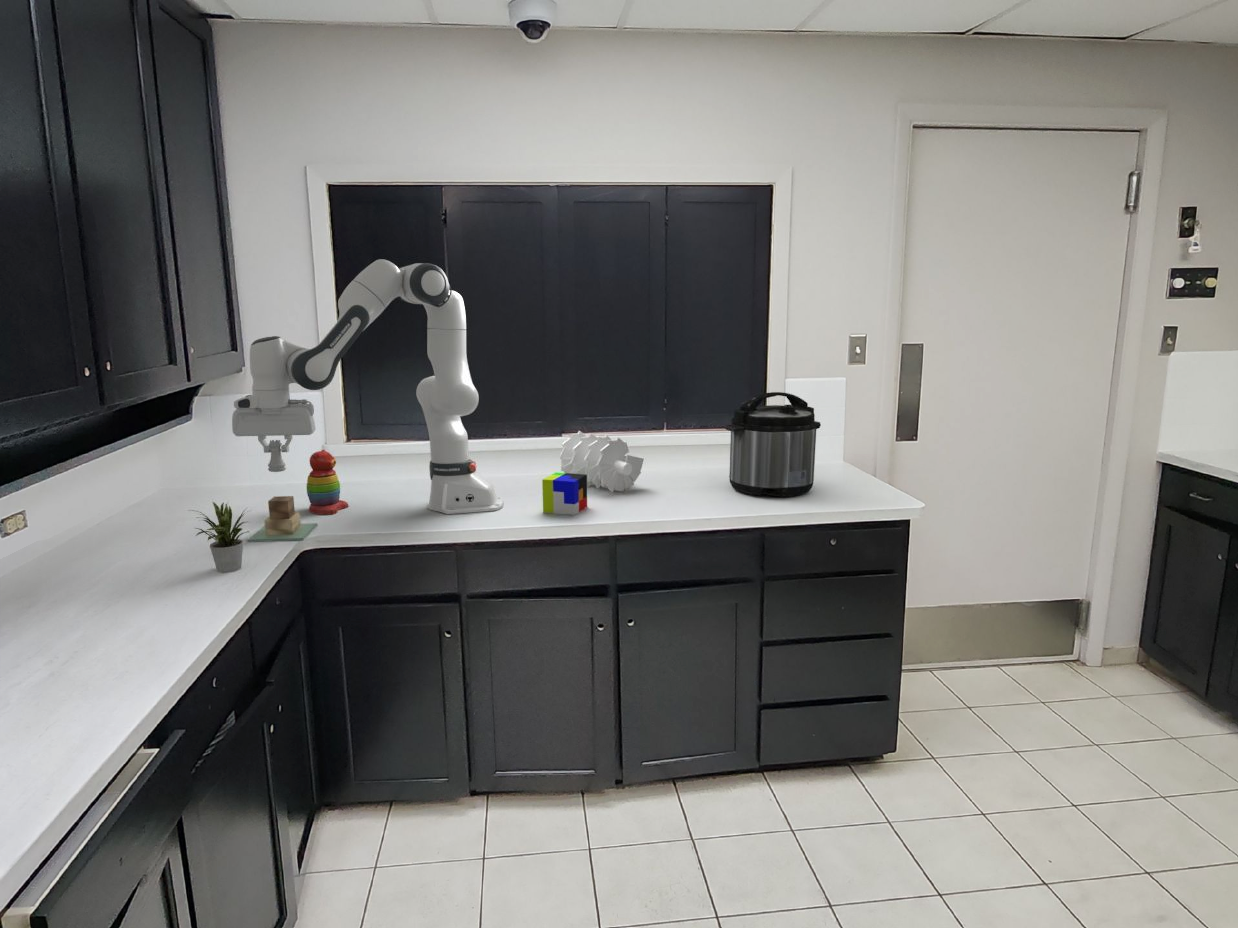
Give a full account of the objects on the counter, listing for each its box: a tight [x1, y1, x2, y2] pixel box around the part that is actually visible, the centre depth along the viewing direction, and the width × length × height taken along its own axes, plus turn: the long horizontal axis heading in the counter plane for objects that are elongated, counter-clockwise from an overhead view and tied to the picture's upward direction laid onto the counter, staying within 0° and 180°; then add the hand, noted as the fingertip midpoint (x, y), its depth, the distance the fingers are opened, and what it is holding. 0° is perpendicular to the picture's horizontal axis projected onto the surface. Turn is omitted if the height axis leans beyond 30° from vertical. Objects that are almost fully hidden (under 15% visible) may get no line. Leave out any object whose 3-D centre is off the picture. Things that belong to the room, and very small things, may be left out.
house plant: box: [187, 501, 252, 573], centre depth 191 cm, size 14×14×16 cm
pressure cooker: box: [724, 391, 822, 497], centre depth 264 cm, size 30×28×32 cm
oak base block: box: [264, 512, 302, 535], centre depth 219 cm, size 7×7×4 cm
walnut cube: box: [267, 495, 296, 519], centre depth 218 cm, size 5×5×5 cm
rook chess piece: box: [267, 439, 287, 473], centre depth 215 cm, size 4×4×8 cm
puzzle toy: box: [541, 471, 588, 516], centre depth 242 cm, size 10×10×10 cm
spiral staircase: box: [558, 430, 645, 493], centre depth 268 cm, size 18×18×25 cm
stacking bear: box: [306, 449, 349, 516], centre depth 242 cm, size 11×10×18 cm
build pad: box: [247, 522, 319, 543], centre depth 220 cm, size 14×14×1 cm
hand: (276, 452), depth 215 cm, fingers closed on rook chess piece, 3 cm apart
